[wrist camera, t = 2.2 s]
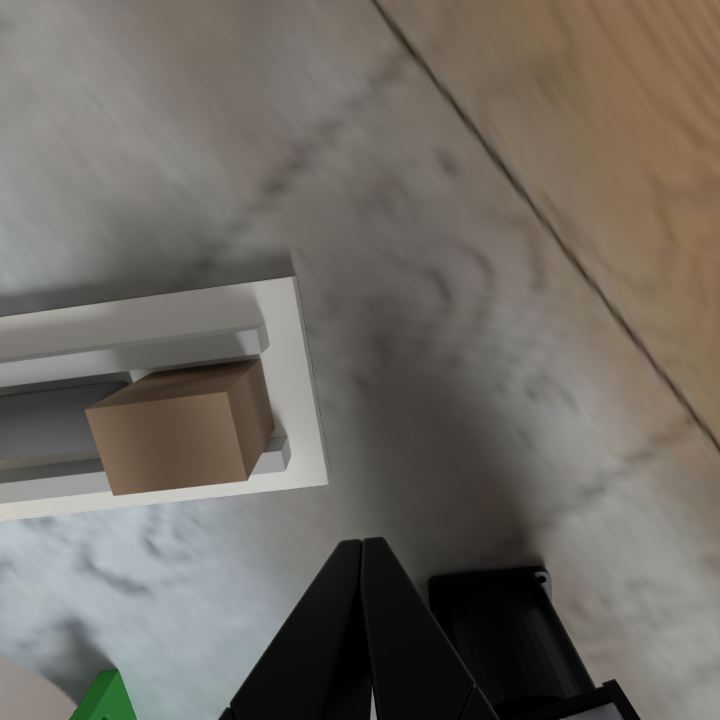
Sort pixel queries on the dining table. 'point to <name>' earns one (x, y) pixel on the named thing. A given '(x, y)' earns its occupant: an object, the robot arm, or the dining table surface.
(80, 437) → the rod
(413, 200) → the dining table surface
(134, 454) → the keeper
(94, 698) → the pipe clamp
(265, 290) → the channel board
